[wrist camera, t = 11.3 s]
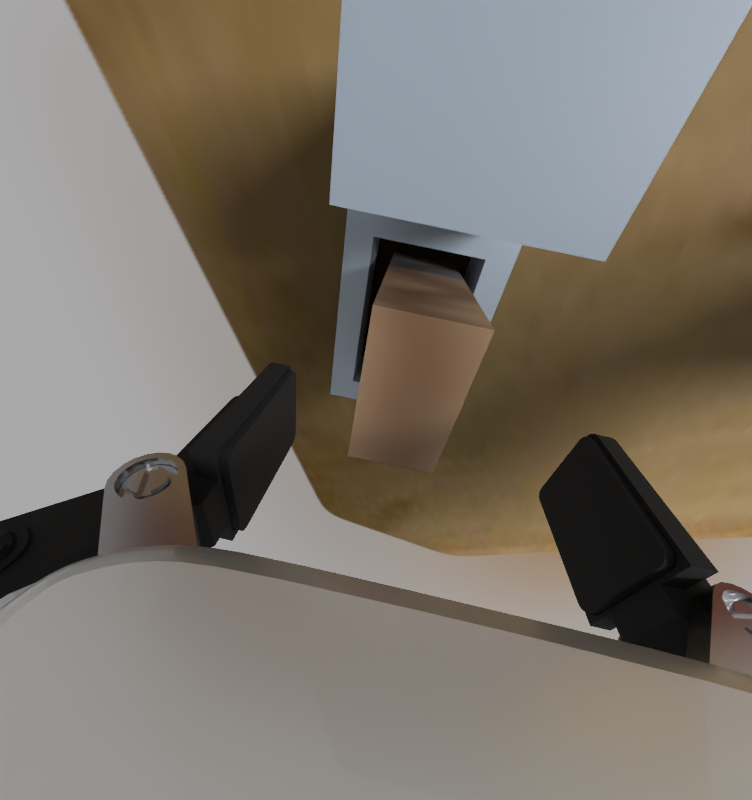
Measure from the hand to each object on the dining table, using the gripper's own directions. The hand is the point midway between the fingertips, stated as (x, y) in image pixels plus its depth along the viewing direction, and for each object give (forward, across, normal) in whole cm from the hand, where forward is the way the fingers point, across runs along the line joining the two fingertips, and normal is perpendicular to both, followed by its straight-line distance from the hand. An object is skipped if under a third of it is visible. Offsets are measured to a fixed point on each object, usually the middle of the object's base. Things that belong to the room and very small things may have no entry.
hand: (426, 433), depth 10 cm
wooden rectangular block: (+14, +1, 0) cm, 14 cm away
